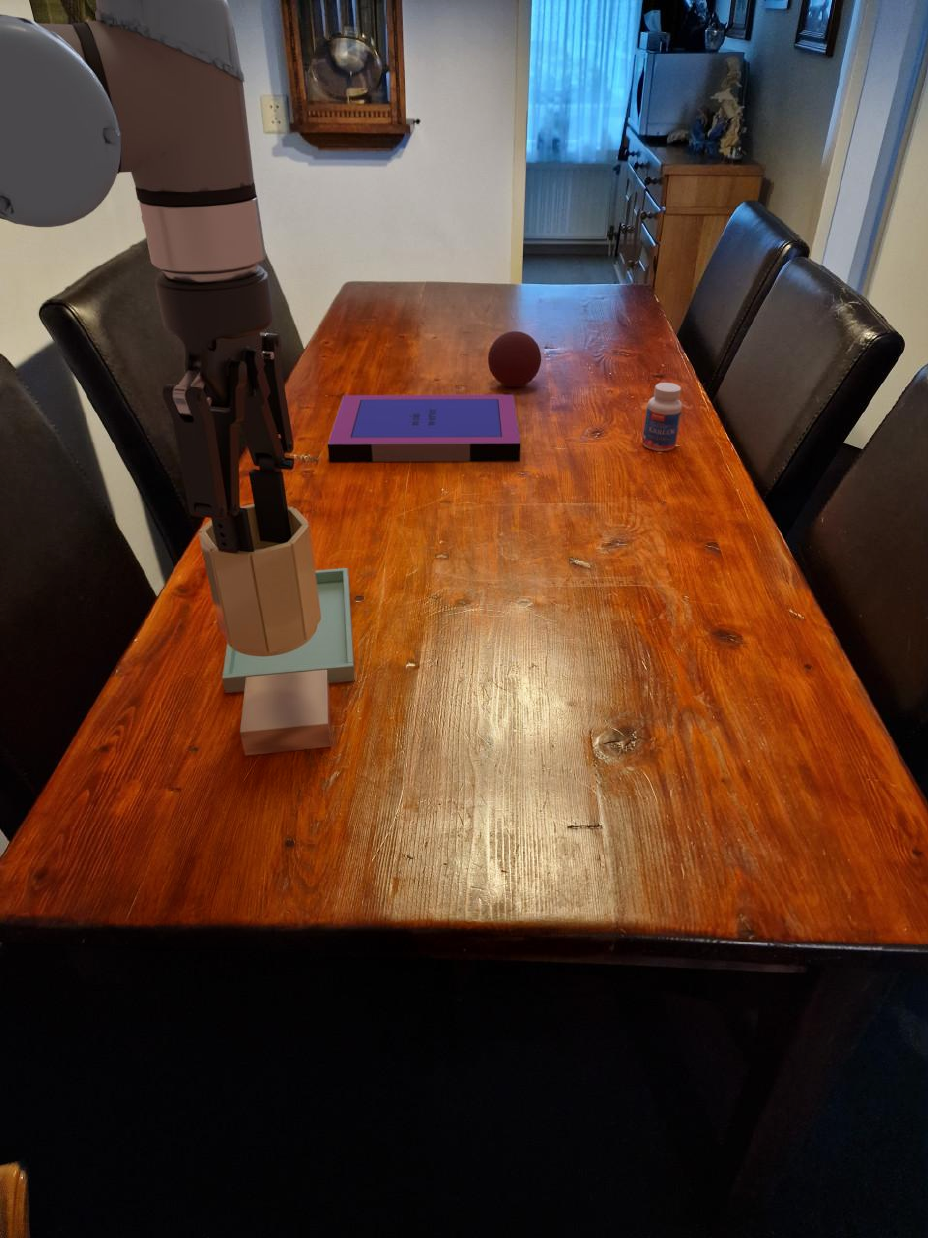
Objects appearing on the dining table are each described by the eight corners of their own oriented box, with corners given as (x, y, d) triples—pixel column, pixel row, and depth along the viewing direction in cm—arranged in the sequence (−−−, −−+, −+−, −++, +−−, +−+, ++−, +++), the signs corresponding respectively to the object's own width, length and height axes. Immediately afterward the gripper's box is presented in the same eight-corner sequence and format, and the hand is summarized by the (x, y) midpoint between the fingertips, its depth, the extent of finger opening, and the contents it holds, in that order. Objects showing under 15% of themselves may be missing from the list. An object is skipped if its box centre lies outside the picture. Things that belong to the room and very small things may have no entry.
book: (520, 443, 127) (327, 444, 127) (519, 461, 128) (329, 461, 128) (513, 394, 144) (343, 395, 144) (513, 410, 145) (344, 411, 145)
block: (244, 756, 76) (239, 732, 74) (250, 699, 83) (245, 677, 81) (331, 747, 77) (327, 723, 75) (330, 692, 84) (327, 669, 82)
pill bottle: (642, 451, 131) (650, 392, 126) (640, 437, 136) (648, 380, 130) (677, 452, 131) (687, 393, 125) (674, 439, 135) (683, 381, 129)
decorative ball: (540, 377, 160) (543, 324, 154) (539, 395, 152) (542, 341, 146) (489, 375, 160) (490, 323, 155) (485, 393, 152) (486, 339, 146)
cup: (295, 664, 69) (279, 560, 63) (205, 649, 71) (181, 546, 65) (332, 609, 76) (321, 510, 70) (249, 596, 77) (231, 498, 71)
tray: (355, 680, 85) (353, 665, 84) (225, 693, 83) (221, 678, 82) (349, 581, 100) (347, 567, 99) (239, 590, 99) (236, 576, 98)
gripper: (225, 238, 64) (267, 503, 77) (76, 299, 49) (159, 615, 62) (315, 242, 62) (341, 513, 76) (189, 308, 47) (249, 629, 61)
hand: (259, 559), depth 69 cm, fingers closed on cup, 6 cm apart
